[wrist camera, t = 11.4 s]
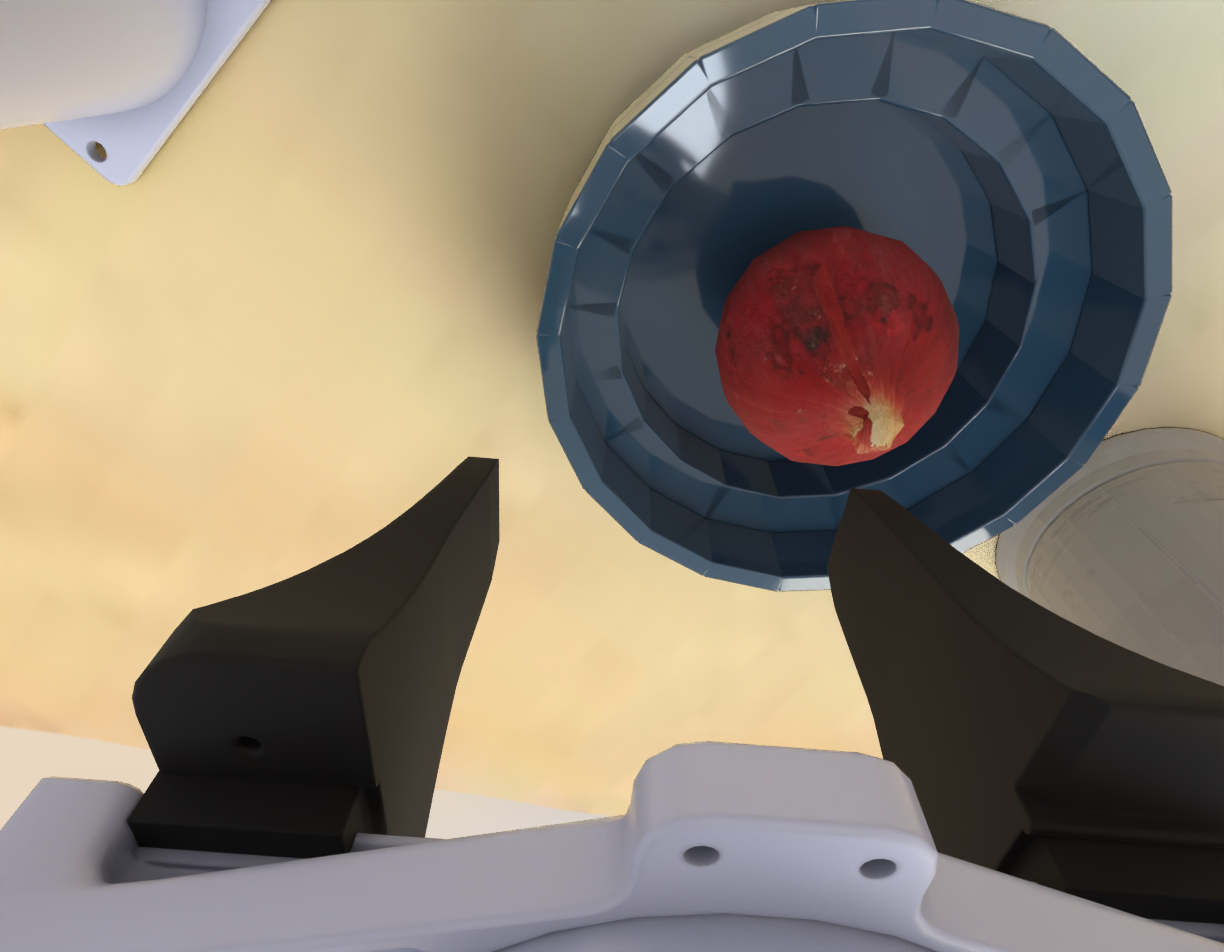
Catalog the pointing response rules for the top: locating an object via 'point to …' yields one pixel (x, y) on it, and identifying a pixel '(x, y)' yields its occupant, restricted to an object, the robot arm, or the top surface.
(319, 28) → the top surface
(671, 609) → the top surface
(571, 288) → the bowl
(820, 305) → the pomegranate
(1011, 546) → the glass holder
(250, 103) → the top surface
